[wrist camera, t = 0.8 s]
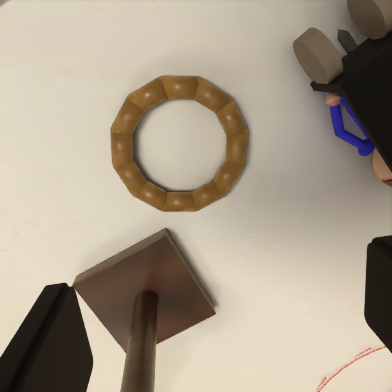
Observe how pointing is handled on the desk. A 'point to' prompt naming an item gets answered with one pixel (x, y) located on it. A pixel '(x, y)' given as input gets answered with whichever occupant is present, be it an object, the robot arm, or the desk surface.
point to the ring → (151, 97)
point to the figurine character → (357, 79)
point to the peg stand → (144, 302)
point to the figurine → (347, 365)
